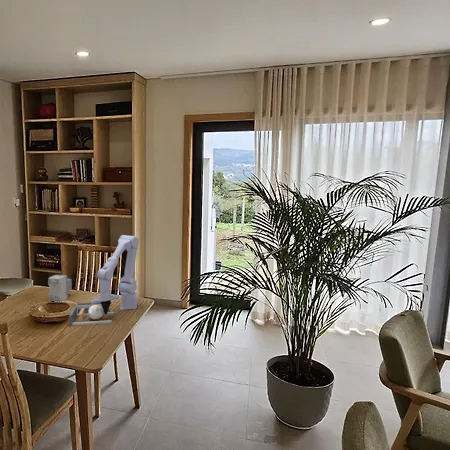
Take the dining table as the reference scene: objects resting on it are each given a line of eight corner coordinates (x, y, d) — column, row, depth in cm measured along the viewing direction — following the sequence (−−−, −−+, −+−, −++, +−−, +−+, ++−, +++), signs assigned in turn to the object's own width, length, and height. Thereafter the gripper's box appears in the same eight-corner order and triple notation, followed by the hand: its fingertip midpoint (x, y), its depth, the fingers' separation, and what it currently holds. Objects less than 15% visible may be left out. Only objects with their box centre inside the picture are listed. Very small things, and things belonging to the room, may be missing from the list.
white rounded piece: (92, 323, 170) (91, 309, 169) (85, 318, 175) (84, 305, 174) (106, 318, 176) (105, 305, 175) (99, 314, 181) (98, 301, 180)
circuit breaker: (73, 294, 211) (72, 272, 209) (60, 302, 197) (59, 279, 195) (62, 293, 212) (61, 271, 210) (48, 301, 198) (47, 278, 196)
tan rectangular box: (84, 316, 177) (84, 308, 177) (81, 323, 169) (81, 314, 169) (81, 316, 177) (81, 308, 176) (78, 323, 169) (78, 314, 168)
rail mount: (114, 310, 187) (114, 301, 186) (111, 322, 171) (111, 312, 170) (76, 313, 182) (75, 303, 181) (69, 325, 166) (68, 315, 165)
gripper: (115, 285, 181) (116, 308, 183) (89, 290, 172) (89, 314, 174) (120, 289, 176) (120, 312, 178) (93, 294, 167) (93, 318, 169)
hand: (105, 313), depth 176 cm, fingers closed
